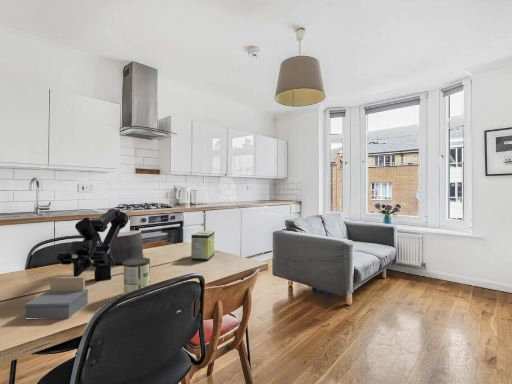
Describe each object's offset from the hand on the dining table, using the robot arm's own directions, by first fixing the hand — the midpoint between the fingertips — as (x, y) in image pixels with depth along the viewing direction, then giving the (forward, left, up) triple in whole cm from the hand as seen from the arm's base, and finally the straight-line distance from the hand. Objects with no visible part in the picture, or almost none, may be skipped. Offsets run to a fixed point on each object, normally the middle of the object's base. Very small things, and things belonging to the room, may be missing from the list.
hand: (75, 277), depth 110 cm
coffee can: (-22, +6, -9) cm, 25 cm away
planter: (-23, -49, -8) cm, 55 cm away
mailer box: (+4, +9, -9) cm, 14 cm away
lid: (+4, +9, -4) cm, 11 cm away
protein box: (-65, -36, -9) cm, 75 cm away
